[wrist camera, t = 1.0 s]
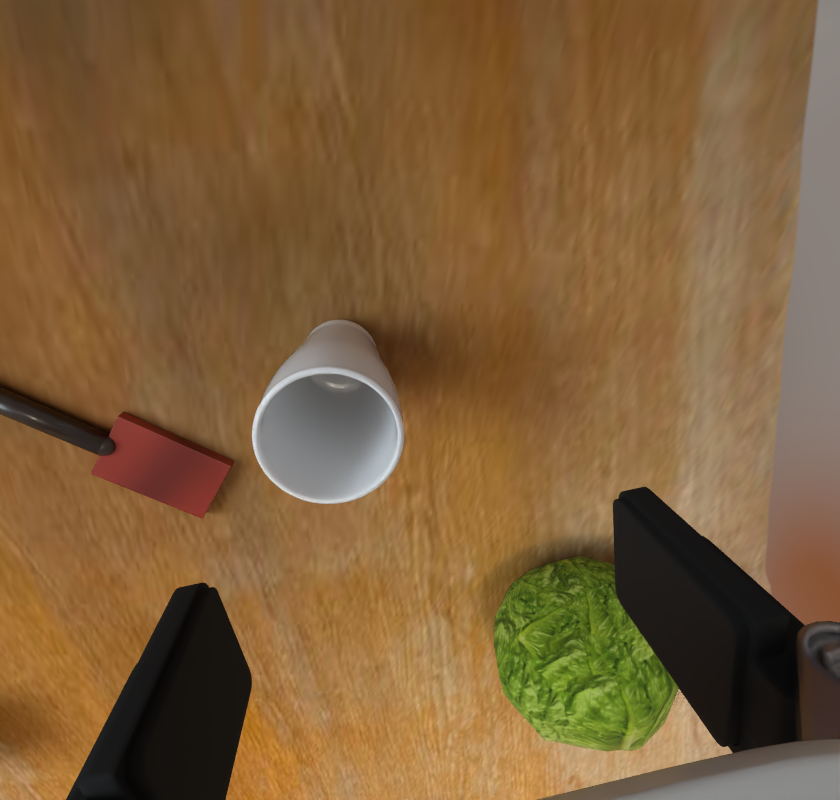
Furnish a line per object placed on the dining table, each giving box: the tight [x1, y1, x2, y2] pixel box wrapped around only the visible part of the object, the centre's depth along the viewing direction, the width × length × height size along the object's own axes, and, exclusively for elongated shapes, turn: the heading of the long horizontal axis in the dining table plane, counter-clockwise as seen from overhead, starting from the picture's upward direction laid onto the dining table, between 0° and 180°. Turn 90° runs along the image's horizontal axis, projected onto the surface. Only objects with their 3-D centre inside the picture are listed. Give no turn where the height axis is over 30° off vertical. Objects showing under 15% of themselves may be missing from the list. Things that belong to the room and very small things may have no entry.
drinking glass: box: [252, 320, 404, 504], centre depth 28 cm, size 7×7×15 cm
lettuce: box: [494, 556, 679, 751], centre depth 42 cm, size 14×23×14 cm
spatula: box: [0, 387, 234, 518], centre depth 34 cm, size 20×5×2 cm, turn 58°
